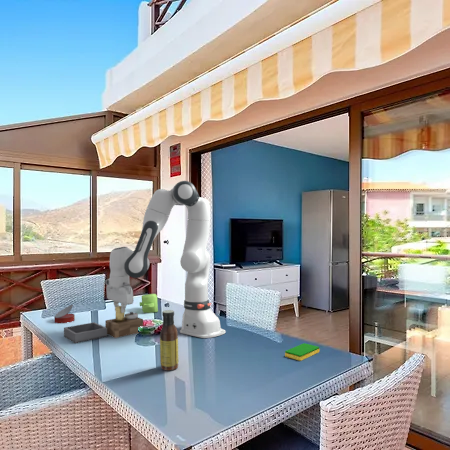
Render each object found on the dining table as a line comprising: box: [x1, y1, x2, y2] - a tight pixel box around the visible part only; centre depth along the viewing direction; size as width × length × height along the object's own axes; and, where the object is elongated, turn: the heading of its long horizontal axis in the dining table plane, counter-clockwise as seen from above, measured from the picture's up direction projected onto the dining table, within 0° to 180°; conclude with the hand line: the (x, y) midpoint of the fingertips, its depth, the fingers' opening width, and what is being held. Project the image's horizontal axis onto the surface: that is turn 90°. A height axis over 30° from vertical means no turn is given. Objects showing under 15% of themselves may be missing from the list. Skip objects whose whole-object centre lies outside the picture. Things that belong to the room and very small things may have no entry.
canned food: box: [53, 304, 76, 324], centre depth 191 cm, size 11×10×10 cm
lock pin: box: [114, 305, 125, 323], centre depth 168 cm, size 4×4×10 cm
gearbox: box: [139, 293, 159, 314], centre depth 215 cm, size 18×10×10 cm, turn 17°
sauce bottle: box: [159, 309, 179, 371], centre depth 126 cm, size 6×6×20 cm
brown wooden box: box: [104, 311, 144, 339], centre depth 169 cm, size 10×14×9 cm
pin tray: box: [63, 321, 108, 345], centre depth 163 cm, size 14×14×4 cm
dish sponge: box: [284, 342, 320, 362], centre depth 140 cm, size 7×14×2 cm, turn 135°
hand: (120, 311), depth 168 cm, fingers closed on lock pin, 4 cm apart
